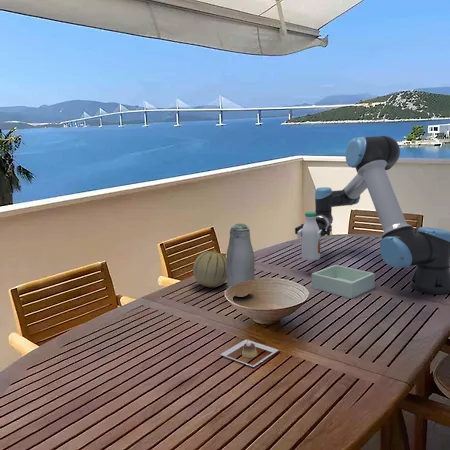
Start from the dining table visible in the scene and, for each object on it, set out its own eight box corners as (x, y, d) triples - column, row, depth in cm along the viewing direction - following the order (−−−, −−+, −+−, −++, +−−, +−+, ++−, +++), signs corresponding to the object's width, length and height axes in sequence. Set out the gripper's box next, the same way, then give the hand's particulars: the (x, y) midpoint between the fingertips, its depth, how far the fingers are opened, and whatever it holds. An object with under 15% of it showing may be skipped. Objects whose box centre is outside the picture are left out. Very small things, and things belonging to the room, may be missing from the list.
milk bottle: (314, 261, 196) (314, 214, 192) (298, 259, 201) (297, 212, 197) (323, 257, 202) (323, 211, 198) (307, 255, 207) (306, 210, 203)
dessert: (245, 342, 143) (245, 327, 142) (279, 353, 135) (278, 338, 134) (219, 358, 134) (219, 342, 133) (253, 370, 126) (253, 354, 126)
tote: (374, 287, 184) (374, 273, 183) (351, 298, 174) (351, 283, 173) (335, 278, 197) (335, 264, 196) (311, 287, 187) (311, 273, 186)
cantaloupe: (188, 291, 188) (186, 254, 185) (201, 279, 202) (199, 245, 199) (224, 293, 184) (222, 256, 181) (234, 281, 197) (233, 246, 194)
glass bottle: (245, 302, 174) (242, 228, 168) (222, 297, 180) (220, 225, 174) (259, 294, 181) (258, 223, 175) (238, 290, 187) (235, 220, 182)
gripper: (342, 233, 212) (333, 245, 192) (297, 231, 220) (284, 243, 199) (342, 217, 211) (333, 227, 190) (297, 216, 219) (283, 225, 198)
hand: (308, 235), depth 195 cm, fingers closed on milk bottle, 7 cm apart
